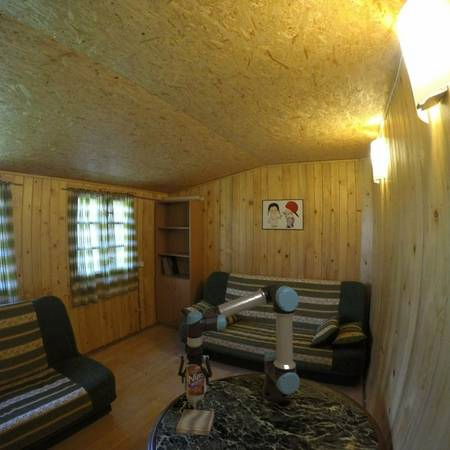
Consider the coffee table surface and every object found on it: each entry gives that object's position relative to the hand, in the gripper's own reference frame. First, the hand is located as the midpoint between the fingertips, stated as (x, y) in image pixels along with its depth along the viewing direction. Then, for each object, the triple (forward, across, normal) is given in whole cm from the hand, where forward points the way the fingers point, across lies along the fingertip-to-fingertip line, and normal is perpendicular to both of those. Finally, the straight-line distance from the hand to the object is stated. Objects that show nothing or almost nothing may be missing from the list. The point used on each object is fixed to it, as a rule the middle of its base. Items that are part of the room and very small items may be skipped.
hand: (195, 390), depth 134 cm
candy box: (+2, 0, 0) cm, 2 cm away
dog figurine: (+16, +3, -15) cm, 22 cm away
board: (+16, 0, 0) cm, 16 cm away
